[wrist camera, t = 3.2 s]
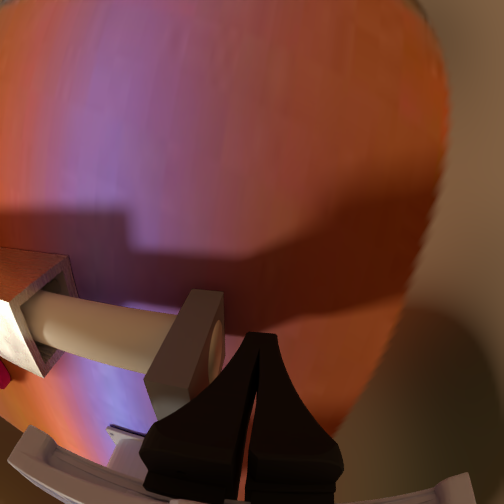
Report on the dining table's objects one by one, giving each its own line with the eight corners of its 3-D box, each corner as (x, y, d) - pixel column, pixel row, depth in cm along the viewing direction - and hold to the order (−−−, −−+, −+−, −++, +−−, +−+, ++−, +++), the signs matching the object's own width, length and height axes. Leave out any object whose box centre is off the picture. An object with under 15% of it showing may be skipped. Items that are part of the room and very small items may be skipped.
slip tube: (223, 291, 13) (187, 388, 8) (225, 355, 15) (200, 446, 10) (-34, 253, 15) (-79, 285, 10) (-21, 295, 17) (-60, 328, 12)
